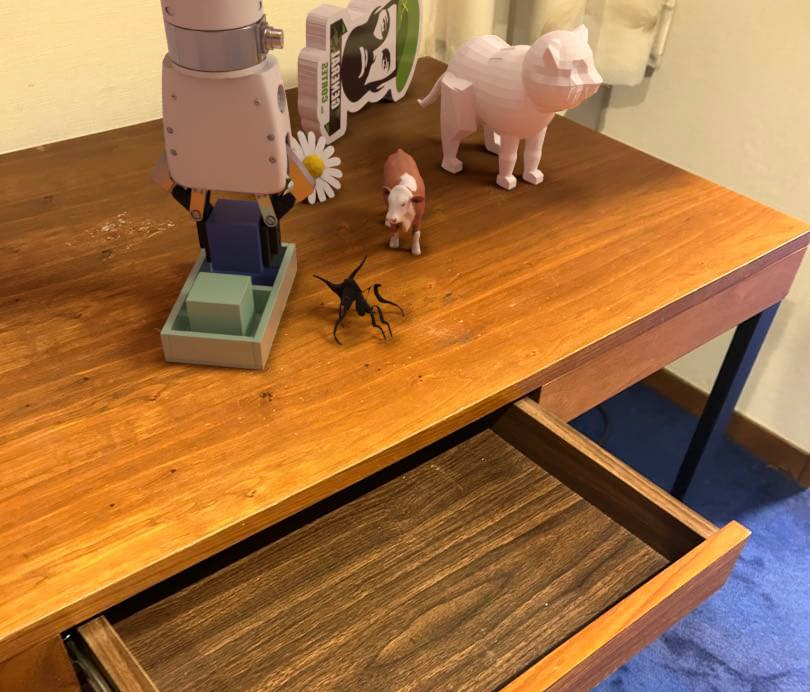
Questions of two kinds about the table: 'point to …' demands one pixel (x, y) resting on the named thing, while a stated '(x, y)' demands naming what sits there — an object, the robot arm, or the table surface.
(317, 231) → the table surface
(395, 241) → the bull figurine
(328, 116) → the cutout
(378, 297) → the creature
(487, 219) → the table surface
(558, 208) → the table surface
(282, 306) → the sorting tray
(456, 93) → the cat figurine
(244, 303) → the celadon block
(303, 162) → the decorative flower
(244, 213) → the indigo block
